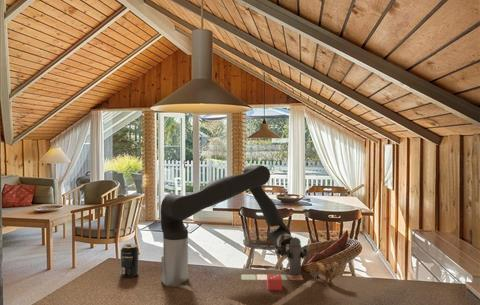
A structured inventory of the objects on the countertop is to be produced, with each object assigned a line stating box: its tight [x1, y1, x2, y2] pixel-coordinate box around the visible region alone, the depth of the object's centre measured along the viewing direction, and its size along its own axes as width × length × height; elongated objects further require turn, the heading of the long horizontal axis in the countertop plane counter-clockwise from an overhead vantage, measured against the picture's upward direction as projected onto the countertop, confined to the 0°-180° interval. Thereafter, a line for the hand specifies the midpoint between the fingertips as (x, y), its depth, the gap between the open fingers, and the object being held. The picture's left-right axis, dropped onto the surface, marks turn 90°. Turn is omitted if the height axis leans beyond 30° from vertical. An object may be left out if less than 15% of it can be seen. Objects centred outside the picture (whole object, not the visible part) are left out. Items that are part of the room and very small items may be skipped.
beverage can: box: [120, 243, 139, 278], centre depth 145 cm, size 7×7×12 cm
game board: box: [240, 274, 312, 288], centre depth 141 cm, size 28×12×1 cm, turn 90°
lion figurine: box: [312, 261, 343, 287], centre depth 140 cm, size 15×5×9 cm, turn 35°
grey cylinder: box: [288, 237, 302, 276], centre depth 141 cm, size 4×4×14 cm
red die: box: [266, 274, 283, 291], centre depth 131 cm, size 5×5×5 cm
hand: (297, 256), depth 138 cm, fingers closed on grey cylinder, 4 cm apart
